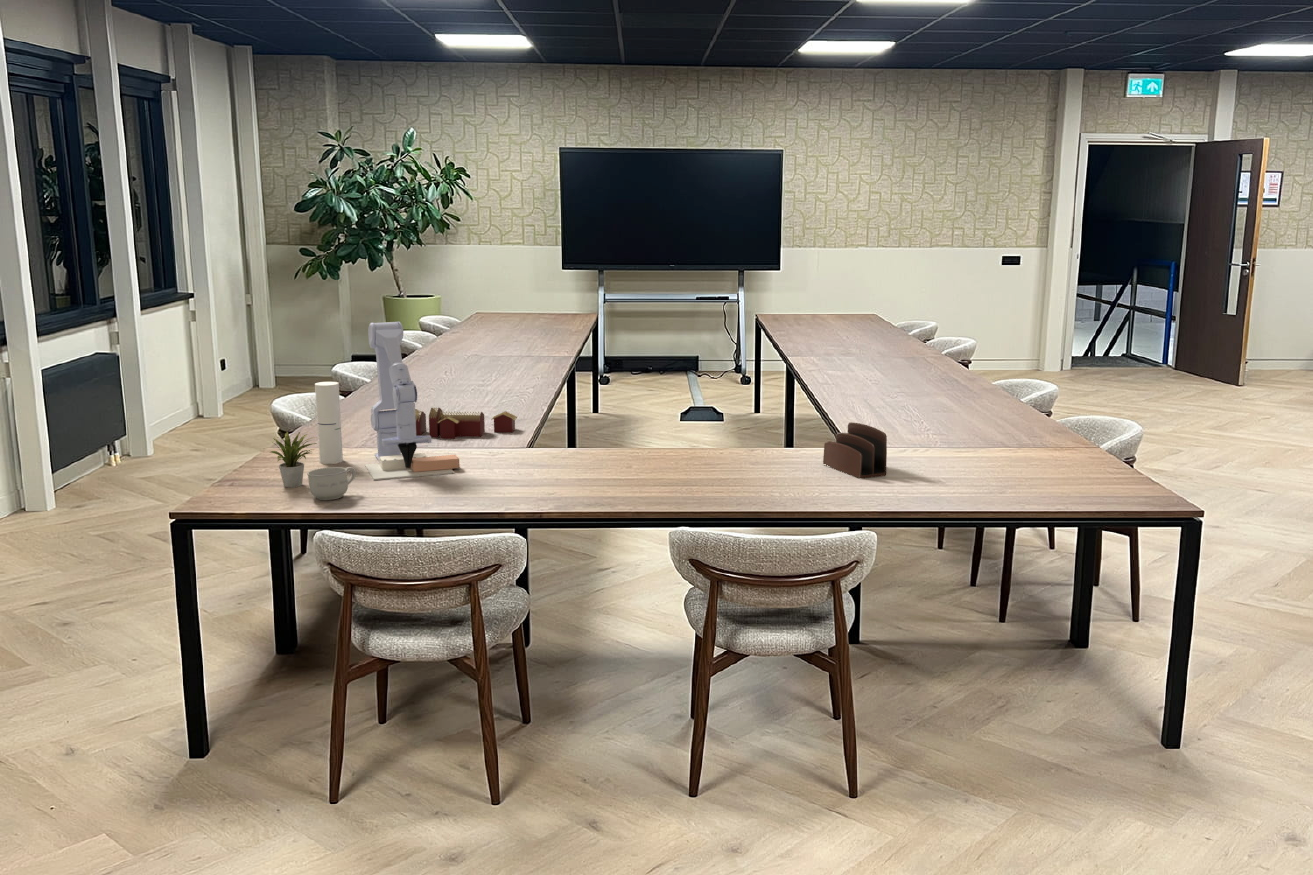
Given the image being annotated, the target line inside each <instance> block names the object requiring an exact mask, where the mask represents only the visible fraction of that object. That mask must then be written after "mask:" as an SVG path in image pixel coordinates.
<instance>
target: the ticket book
mask: <svg viewBox="0 0 1313 875" xmlns="http://www.w3.org/2000/svg"><path fill="white" fill-rule="evenodd" d="M420 457H429V456H428V455H427V454H426V453H425V452H420V453H414V455H413V458H420ZM378 461H379V464H380V467H381V469H382V470H393V469H405V468H406V467H405V462H404V459H403V456H402V455H393V456H381V457H379V460H378Z"/></svg>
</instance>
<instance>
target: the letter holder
mask: <svg viewBox="0 0 1313 875" xmlns="http://www.w3.org/2000/svg"><path fill="white" fill-rule="evenodd" d="M887 437H888V436H887V434H886V433H885V432H883V431H882V430H880V429H878V428H877V427H874V426H871V425H868V424H865V423H858V422H848V423H847V432H837V433H836V435H835V441H831V440H829V441H828V440H827V441H825V442H824V446H823V447H824V448H823V455H822V457H823V459H822V460H823V461H822V465H823V464H826V465H828V466H830V467H832V468H831V469H833V468H834V469H833V470H835V469H836V471H839V472H841V471H842V472H841V473H843V472H844V474H846V473H847V474H846V475H849V476H851V475H852V477H855V478H857V479H859V478H864V479H870V478H877V477H885V476H887V453H888V452H887V451H888V450H887V449H888V448H887V446H888V444H887V440H888V439H887ZM830 467H829V468H830Z"/></svg>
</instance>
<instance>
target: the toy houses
mask: <svg viewBox="0 0 1313 875" xmlns="http://www.w3.org/2000/svg"><path fill="white" fill-rule="evenodd" d="M415 416H416V436H425V435H424V434H426V433H427V415H426V413H425V412H424V411H421V410H419V409H418V408H415ZM517 418H518V416H517V415H515V414H513V413H510V412H508V411H506V410H505V411H502V412H501V413H498V414H496V415H494V416H493V417H492V418H491V419H490V421H493V433H496V434H497V433H500V434H501V433H506V434H509V433H510V434H511V433H513V432H515V430H516V420H517ZM428 430H429V431H428V432H429V433H428V436H431V439H432V438H434V439H435V438H436V439H437V438H439V437H440V440H455V439H456V438H458V437H460V438H461V437H462V438H463V437H464V438H465V437H467V438H470V437H473V438H474V437H475V438H481V437H482V436H483V435H484V434H485V433H486V428H485V414H484V412H483V411H480V412H479V411H478V412H476V411H472V412H470V413H469V411H467V412H466V411H464V412H463V411H451V412H450V411H448V412H445V411H444V410H443V409H442V408H441V407H434V406H432V407H430V411H429V414H428Z"/></svg>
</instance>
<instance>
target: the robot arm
mask: <svg viewBox="0 0 1313 875" xmlns="http://www.w3.org/2000/svg"><path fill="white" fill-rule="evenodd" d="M367 334H368V345H369V348H370V349H373V350H374V352H375V357H376V359H375V360H376V369H377V370H376V371H377V385H378V397H379V398H378V399H379V400H378V401H377V402H376V403H374V405H372V406H371V408H370V409H371V410H370V413H371V414H370V424H371V428H372V430H374V431H375V432H376V441H377V442H376V443H377V452H376V453H374V456H375V457H376V459H377V460H378V461H379V457H381V456H393V455H402V456H403V459H404V462H405V467H406V468H411V462H412V458H413V455H414V454H416V451H417V448H418V445H417V444H427V443H428V444H431V443H432V438H431V436H429V435H422V436H416V416H415V409H416V403H417V401H418V389H417V386H416V383H414V381H413V380H412V379H411V375H410V371H409V367H408V365H407V364H405V363H404V362H403V358H402V353H401V352H402V351H401V345H402V342H403V339H404V326H403V324H402V322H400V321H390V322H389V321H388V322H370V323H369V325H368V330H367Z"/></svg>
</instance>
